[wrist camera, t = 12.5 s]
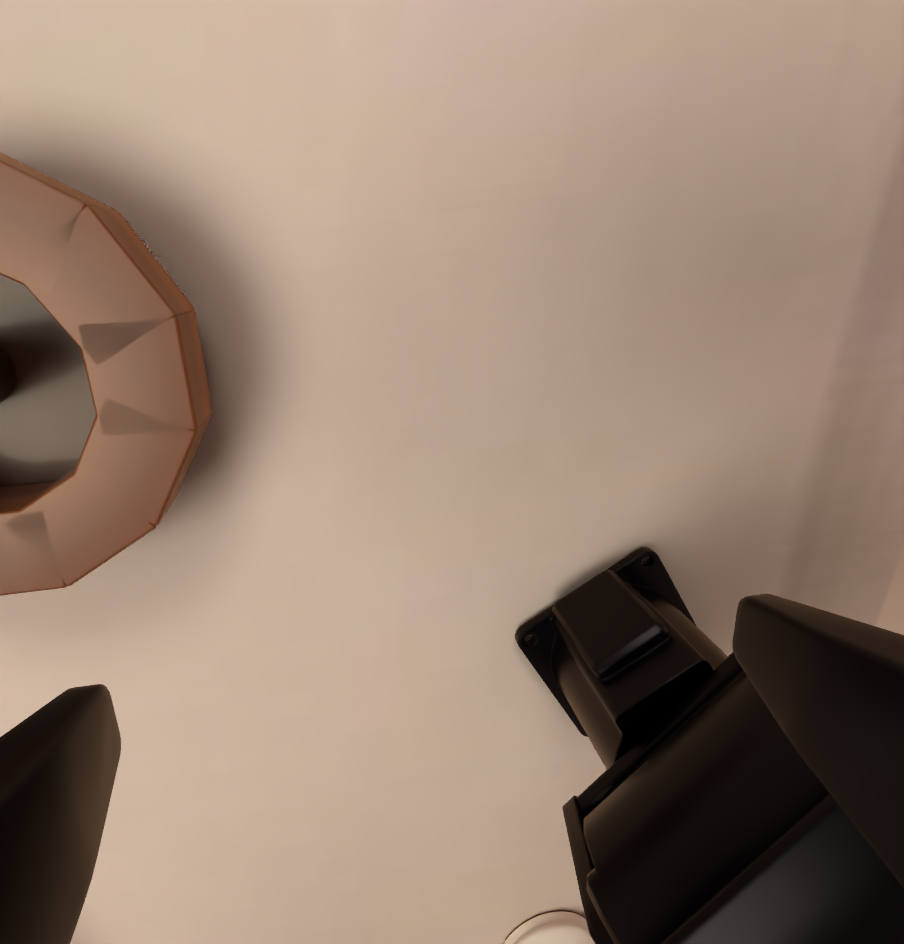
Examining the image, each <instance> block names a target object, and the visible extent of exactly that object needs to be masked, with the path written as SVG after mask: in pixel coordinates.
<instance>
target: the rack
mask: <svg viewBox="0 0 904 944" xmlns="http://www.w3.org/2000/svg"><path fill="white" fill-rule="evenodd" d="M95 416H96V412H95V408H94V404H93V400H92V395H91V391H90V387H89V382H88V378H87V374H86V370H85V365H84V361H83V357H82V353H81V348H80V347H79V346H78V345H77V344H76V342H75V341H74V340H73V339H72V338H71V337H70V336H69V335H68V333H67V332H66V331H65V330H64V329H63V328H62V327H61V326H60V324H59V323H58V322H57V321H56V320H55V319H54V318H53V317H52V315H51V314H50V313H49V312H48V311H47V310H46V309H45V308H44V306H43V305H42V304H41V303H40V302H39V301H38V300H37V299H36V297H35V296H34V295H33V294H32V293H31V292H30V291H29V290H28V288H27V287H26V286H25V285H22V284H20V283H18V282H16V281H13V280H11V279H9V278H7V277H4V276H2V275H0V487H3V486H13V485H24V484H34V483H45V482H54V481H56V480H57V479H59V478H60V477H62V476H63V475H65V474H66V473H67V472H69V471H70V470H72V469H73V468H75V467H76V465H77V463H78V460H79V458H80V455H81V453H82V450H83V447H84V445H85V442H86V440H87V437H88V434H89V432H90V429H91V427H92V424H93V422H94V419H95Z"/></svg>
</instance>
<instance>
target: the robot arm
mask: <svg viewBox="0 0 904 944" xmlns="http://www.w3.org/2000/svg"><path fill="white" fill-rule="evenodd" d="M646 557H649V558H648V560H647V562H646V563H644V564H641V563H642V560H643V559H644V558H646ZM528 635H533V637H532V638H531V639H529V640H524V639H525V638H526V637H527V636H528ZM515 639H516V641H517V643H518V645H519V647H520V649H521V650H522V651H523V653H524V654H525V656H526V657H527V658H528V660H529V661H530V663H531V664H532V665H533V667H534V668H535V670H536V671H537V672H538V674H539V675H540V677H541V678H542V679H543V681H544V682H545V684H546V685H547V686H548V688H549V689H550V691H551V692H552V693H553V695H554V696H555V698H556V699H557V700H558V702H559V703H560V705H561V706H562V707H563V709H564V710H565V712H566V713H567V714H568V716H569V717H570V719H571V720H572V721H573V723H574V724H575V726H576V727H577V728H578V730H579V731H580V733H581V734H582V735H584V736H587V737H589V739H590V741H591V742H592V744H593V746H594V748H595V750H596V751H597V753H598V755H599V757H600V758H601V760H602V762H603V764H604V765H605V767H606V769H607V770H606V771H605V772H604V773H603V774H602V775H601V776H600V777H599V778H598V779H597V780H595V781H594V782H593V783H592V784H591V785H590V786H589V787H588V788H587V789H586V790H585V791H584V792H583V793H582V794H580V795H579V796H578V797H577V796H573V797H572V798H571V799H570V800H569V801H568V802H567V803H566V804H565V805H564V806H563V812H564V817H565V822H566V827H567V832H568V837H569V841H570V846H571V851H572V856H573V861H574V866H575V871H576V876H577V880H578V885H579V890H580V895H581V900H582V904H583V907H584V912H585V916H586V921H587V926H588V930H589V933H590V936H591V938H592V939H593V941H594V942H595V944H904V635H901V634H898V633H894V632H891V631H888V630H885V629H881V628H878V627H875V626H872V625H869V624H866V623H862V622H859V621H856V620H853V619H849V618H846V617H843V616H840V615H836V614H833V613H830V612H827V611H823V610H820V609H817V608H814V607H810V606H807V605H804V604H801V603H797V602H794V601H791V600H788V599H784V598H781V597H778V596H775V595H771V594H760V595H753V596H746V597H744V598H743V599H741V601H740V602H739V604H738V609H737V615H736V622H735V629H734V635H733V651H734V652H733V653H732V654H731V655H729V656H727V655H726V654H725V653H724V652H723V651H722V650H721V649H719V648H718V647H717V646H716V645H715V644H714V643H713V642H712V641H711V640H710V639H709V638H708V637H707V636H706V635H705V634H704V633H703V632H702V631H701V630H700V629H699V628H698V627H697V626H696V624H695V623H694V621H693V619H692V617H691V615H690V613H689V612H688V610H687V608H686V606H685V604H684V602H683V600H682V599H681V597H680V595H679V593H678V591H677V589H676V588H675V586H674V584H673V582H672V580H671V578H670V577H669V575H668V573H667V571H666V569H665V567H664V566H663V564H662V562H661V560H660V558H659V556H658V555H657V554H656V553H655V552H654V551H653V550H652V549H650V548H648V547H641V548H639V549H637V550H635V551H634V552H632V553H631V554H629V555H628V556H626V557H625V558H623V559H622V560H620V561H619V562H617V563H616V564H614V565H613V566H611V567H610V568H608V569H607V570H605V571H603V572H601V573H600V574H598V575H597V576H595V577H594V578H592V579H591V580H589V581H588V582H586V583H585V584H583V585H582V586H580V587H579V588H577V589H576V590H574V591H573V592H571V593H570V594H568V595H567V596H565V597H564V598H562V599H561V600H559V601H558V602H556V603H555V604H554V605H552V606H551V607H549V608H548V609H546V610H545V611H543V612H542V613H540V614H539V615H537V616H536V617H534V618H533V619H531V620H530V621H528V622H527V623H525V624H524V625H522V626H521V627H520V628H519V629H518V630H517V632H516V633H515ZM120 752H121V737H120V732H119V728H118V724H117V720H116V716H115V712H114V707H113V703H112V699H111V695H110V692H109V690H108V689H107V687H106V686H104V685H102V684H97V685H90V686H82V687H75V688H70V689H68V690H66V691H65V692H63V693H62V694H60V695H59V696H58V697H56V698H55V699H53V700H52V701H51V702H49V703H48V704H46V705H45V706H44V707H42V708H41V709H39V710H38V711H37V712H35V713H34V714H32V715H31V716H30V717H28V718H27V719H25V720H24V721H23V722H21V723H20V724H18V725H17V726H16V727H14V728H13V729H11V730H10V731H8V732H7V733H6V734H4V735H3V736H1V737H0V944H70V942H71V939H72V936H73V933H74V930H75V927H76V925H77V922H78V919H79V916H80V913H81V910H82V907H83V904H84V901H85V898H86V895H87V892H88V888H89V885H90V882H91V879H92V875H93V871H94V867H95V863H96V859H97V855H98V851H99V847H100V842H101V838H102V833H103V829H104V824H105V820H106V816H107V811H108V807H109V802H110V798H111V793H112V789H113V785H114V780H115V776H116V771H117V767H118V762H119V758H120Z"/></svg>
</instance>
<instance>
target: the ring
mask: <svg viewBox="0 0 904 944" xmlns="http://www.w3.org/2000/svg"><path fill="white" fill-rule="evenodd" d="M0 275H2V276H4V277H7V278H9V279H11V280H13V281H16V282H18V283H20V284H22V285H25V286H26V287H27V288H28V290H29V291H30V292H31V293H32V294H33V295H34V296H35V297H36V299H37V300H38V301H39V302H40V303H41V304H42V305H43V306H44V308H45V309H46V310H47V311H48V312H49V313H50V314H51V315H52V317H53V318H54V319H55V320H56V321H57V322H58V323H59V324H60V326H61V327H62V328H63V329H64V330H65V331H66V332H67V333H68V335H69V336H70V337H71V338H72V339H73V340H74V341H75V342H76V344H77V345H78V346H79V347H80V348H81V353H82V357H83V361H84V365H85V370H86V374H87V378H88V382H89V387H90V391H91V395H92V400H93V404H94V408H95V412H96V416H95V419H94V422H93V424H92V427H91V429H90V432H89V434H88V437H87V440H86V442H85V445H84V447H83V450H82V453H81V455H80V458H79V460H78V463H77V465H76V467H75V468H73V469H72V470H70V471H69V472H67V473H66V474H65V475H63V476H62V477H60V478H59V479H57V480H56V481H54V482H45V483H34V484H24V485H13V486H3V487H0V595H8V594H16V593H24V592H32V591H41V590H49V589H57V588H64V587H67V586H70V585H72V584H74V583H75V582H77V581H78V580H80V579H81V578H83V577H84V576H86V575H87V574H88V573H90V572H91V571H93V570H94V569H96V568H97V567H99V566H100V565H102V564H103V563H105V562H106V561H108V560H109V559H111V558H112V557H114V556H115V555H117V554H118V553H119V552H121V551H122V550H124V549H125V548H127V547H128V546H130V545H131V544H133V543H134V542H136V541H137V540H139V539H140V538H142V537H143V536H145V535H146V534H147V533H149V532H150V531H152V530H153V529H155V528H156V526H157V525H158V524H159V523H160V521H161V520H162V518H163V517H164V515H165V513H166V512H167V510H168V509H169V507H170V505H171V504H172V502H173V501H174V499H175V497H176V496H177V494H178V491H179V489H180V487H181V484H182V482H183V480H184V477H185V475H186V473H187V470H188V468H189V466H190V463H191V461H192V459H193V456H194V454H195V452H196V449H197V447H198V445H199V442H200V440H201V438H202V435H203V433H204V431H205V428H206V426H207V424H208V421H209V419H210V417H211V411H212V407H211V401H210V395H209V389H208V383H207V377H206V371H205V366H204V360H203V354H202V348H201V342H200V336H199V330H198V324H197V319H196V313H195V311H194V307H193V306H192V304H191V303H190V302H189V301H188V299H187V298H186V297H185V296H184V294H183V293H182V292H181V290H180V289H179V288H178V287H177V285H176V284H175V283H174V282H173V280H172V279H171V278H170V276H169V275H168V274H167V273H166V271H165V270H164V269H163V267H162V266H161V265H160V264H159V262H158V261H157V260H156V259H155V257H154V256H153V255H152V253H151V252H150V251H149V250H148V248H147V247H146V246H145V245H144V243H143V242H142V241H141V239H140V238H139V237H138V236H137V234H136V233H135V232H134V230H133V229H132V228H131V227H130V225H129V224H128V223H127V222H126V220H125V219H124V218H123V216H122V215H121V214H120V213H118V212H117V211H116V210H114V209H112V208H110V207H108V206H106V205H104V204H102V203H100V202H98V201H96V200H94V199H92V198H90V197H88V196H86V195H84V194H82V193H80V192H78V191H76V190H74V189H72V188H70V187H68V186H66V185H64V184H62V183H60V182H58V181H56V180H54V179H52V178H50V177H48V176H46V175H44V174H42V173H40V172H38V171H36V170H34V169H32V168H30V167H28V166H26V165H24V164H22V163H20V162H18V161H16V160H14V159H12V158H10V157H8V156H6V155H4V154H2V153H0Z"/></svg>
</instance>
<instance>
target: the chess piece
mask: <svg viewBox="0 0 904 944" xmlns="http://www.w3.org/2000/svg"><path fill="white" fill-rule="evenodd" d="M504 944H595V942H594V941H593V939H592V938H591V936H590V933H589V930H588V926H587V921H586V919H584V918H583V917H582V916H580V915H578V914H575V913H571V912H564V911H558V912H550V913H546V914H542V915H539V916H537V917H534V918H532V919H530V920H528V921H526V922H525V923H523V924H522V925H520V926H519V927H518V928H517V929H515V930H514V931H513V932H512V933H511V934H510V936H509V937H508V938H507V939H506V941H505V942H504Z"/></svg>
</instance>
